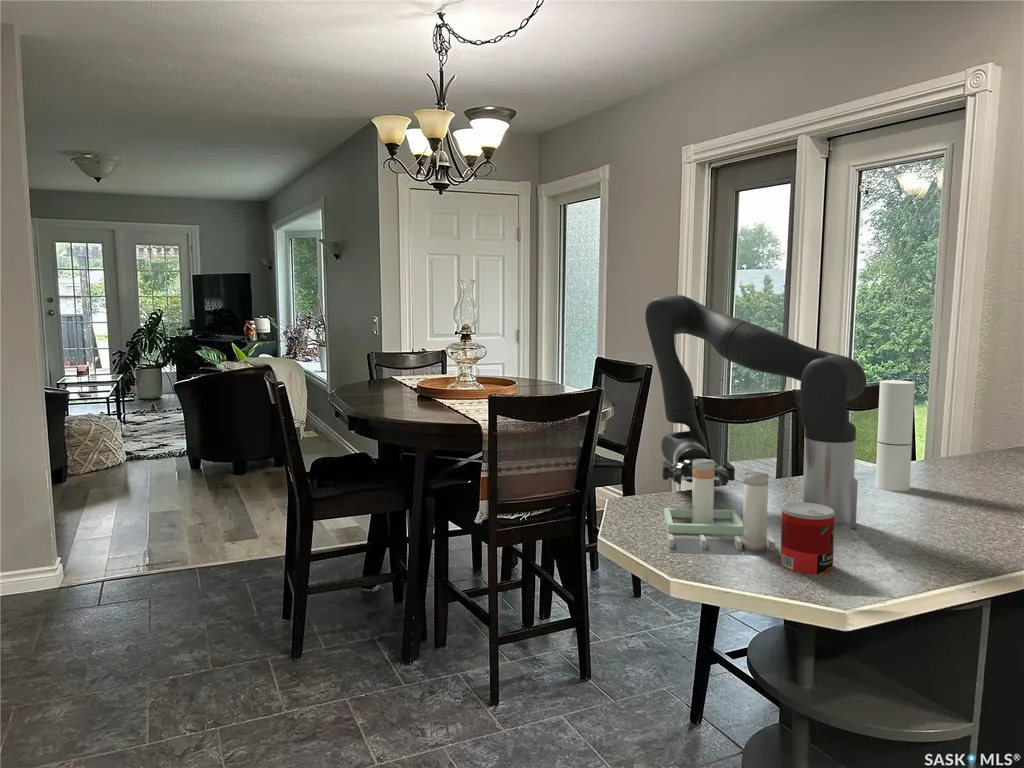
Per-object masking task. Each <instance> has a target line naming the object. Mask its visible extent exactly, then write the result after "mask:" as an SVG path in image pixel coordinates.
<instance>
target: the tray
mask: <svg viewBox="0 0 1024 768" xmlns="http://www.w3.org/2000/svg"><path fill="white" fill-rule="evenodd" d="M663 517H664V521H665V525H666V530H667V534H697V535H698V534H699V535H734V536H739V535H741V536H743V519H742V518H741V517H740V515H739V514H738V511H737V510H736V509H725V508H724V509H723V508H722V509H721V508H720V509H719V508H718V509H715V508H714V516H713V519H725V520H726V519H729V520H730V519H731V521H732V523H733V524H719V523H718V524H717V523H714V524H692V523H679V522H677V523H676V522H675V523H674V521H673V518H682V519H683V518H685V519H686V518H687V519H688V518H689V519H690V518H691V519H692V508H678V507H677V508H673V507H672V508H671V507H670V508H667V507H664V508H663Z"/></svg>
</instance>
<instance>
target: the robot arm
mask: <svg viewBox="0 0 1024 768" xmlns="http://www.w3.org/2000/svg"><path fill="white" fill-rule="evenodd" d="M644 316H645V318H644V319H645V324H646V329H647V332H648V336H649V341H650V344H651V346H652V347H651V348H652V351H653V354H654V358H655V361H656V364H657V365H656V366H657V369H658V373H659V376H660V381H661V389H662V393H663V394H662V395H663V405H664V414H665V419H666V420H667V422H669V423H671V424H680V425H681V424H682V425H685V426H687V427H688V428H689V430H687V431H686V430H684V431H677V432H675V431H674V432H670V433H667V434H666V435H664V436H663V437H662V440H661V442H660V443H661V444H660V447H661V453H662V455H663V457H664V458H665V459H666V461H662V475H661V476H662V479H663V480H665V481H666V480H669V478H670V479H671V480H672V481H673V482H674V483H677V484H676V485H681V484H682V481H685V482H687V483H691V484H692V483H693V476H692V462H693V460H694V459H710V460H712V458H711V456H710V454H709V453H708V444H707V440H706V438H705V436H704V433H703V431H702V429H701V425H700V424H699V420H698V417H697V413H696V406H695V396H694V389H693V388H694V387H693V385H692V382H691V379H690V376H689V375H688V373H687V372H686V370H685V368H684V367H683V365H682V362H681V361H680V358H679V356H678V354H677V351H676V346H675V345H676V343H675V335H678V334H679V335H681V334H682V335H683V334H685V335H690V336H694V337H696V338H699V339H701V340H705V341H706V342H708V343H709V344H710V345H711V347H713V349H714V350H715V351H716V352H717V353H718V355H719V356H721V357H722V358H724V359H725V360H727V361H729V362H731V363H734V364H737V365H738V366H742V367H743V368H745V369H749V370H752V371H756V372H761V373H765V374H771V375H775V376H782V377H786V378H790V379H794V380H796V381H800V393H799V395H800V421H801V424H802V426H803V430H804V447H803V448H804V449H803V451H804V452H803V477H802V479H803V480H802V481H803V482H802V483H803V485H802V502H806V503H815V504H820V505H824V506H827V507H829V508H831V509H833V510H834V514H835V524H846V525H847V526H848V527H849V528H850V529H856V528H857V510H858V509H857V508H858V486H859V485H858V484H859V483H858V479H857V478H855V468H856V467H855V466H856V464H855V463H856V439H857V428H856V426H855V424H854V423H852V422H851V421H849V418H848V407H847V404H848V403H847V402H849V401H852V400H855V399H856V398H857V397H859V396H860V395H861V394H862V393H863V392H864V390H865V389H866V388H867V387H866V386H867V376H866V373H865V370H864V369H863V367H862V365H860V364H859V363H858V362H857V361H855V360H854V359H853V358H850V357H849V356H845V355H840V354H836V353H832V352H828V351H824V350H822V349H817V348H813V347H810V346H806V345H804V344H802V343H801V342H797V341H795V340H793V339H791V338H790V337H789V338H788V337H786V336H784V335H782V334H779V333H777V332H774V331H772V330H770V329H769V330H768V329H767V328H765V327H762V326H759V325H757V324H755V323H751V322H749V321H746V320H742V319H739V318H738V317H733V316H731V315H729V314H726V313H721V312H718V311H716V310H713V309H712V308H709V307H707V306H705V305H704V304H702V303H700V302H698V301H696V300H694V299H692V298H690V297H688V296H685V295H682V294H674V295H668V296H660V297H656V298H653V299H652V300H650V302H648V304H647V305H646V308H645V315H644ZM735 472H736V467H734V466H733V464H731V463H730V462H728V461H725V462H722V465H719V464H718V463H716V462H715V470H714V482H715V481H719V483H720V484H721V485H722V486H726V484H728V483H729V481H731V482H732V481H735V480H736V478H735Z"/></svg>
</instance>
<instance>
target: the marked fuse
mask: <svg viewBox="0 0 1024 768" xmlns="http://www.w3.org/2000/svg"><path fill="white" fill-rule="evenodd" d="M715 463H716V462H715V460H713V459H711V460H710V459H694V460H693V462H692V476H693V483H691V484H692V494H691V495H692V496H691V497H692V498H691V499H692V500H691V502H692V503H691V505H692V506H691V509H692V518H691V524H715V523H714V522H715V521H714V518H713V516H714V509H715V508H714V505H715V503H714V501H715V499H714V498H715V481H714V470H715Z"/></svg>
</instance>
